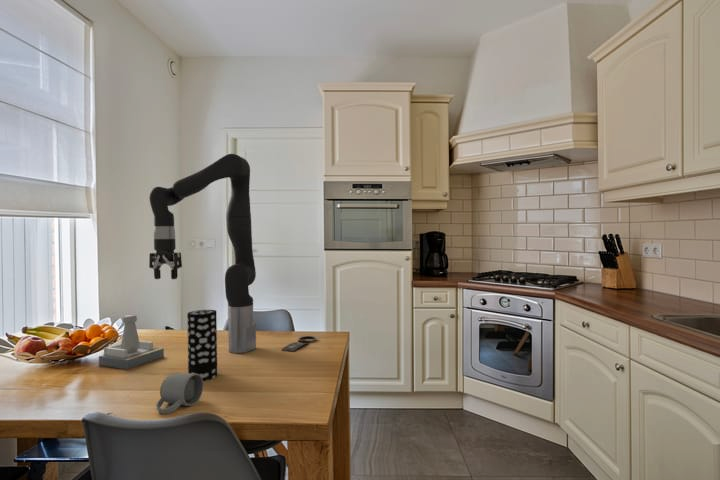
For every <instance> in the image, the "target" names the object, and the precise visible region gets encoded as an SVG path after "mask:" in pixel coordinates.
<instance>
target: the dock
mask: <svg viewBox="0 0 720 480" xmlns="http://www.w3.org/2000/svg"><path fill="white" fill-rule="evenodd" d="M139 342H140V346H139V348H138V350H137V351H136V352H134V353H128V354H127V350H125V349H121V343H122V342H120V343H117V344H114V345H110V346H106V347H103V351H104V352H103V354H102V355H99V356H98V365H99V366H104V367H110V368H117V369H123V370H129V369H134V368H135V367H138V366H141V365H145V364H147V363H151V362H152V361H156V360H158V359H162V358H164V357H165V352H164V350H165V349H164V347H154V341H147V340H139Z"/></svg>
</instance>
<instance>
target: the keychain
mask: <svg viewBox="0 0 720 480" xmlns="http://www.w3.org/2000/svg"><path fill="white" fill-rule="evenodd" d="M316 341H317V337H316V336H313V335H312V336H311V335H305V336H301V337H298V339H297V341H296V342H291V343H289V344H287V345H285V346H284V347H283V348H282V349H281V351H287V352H293V353H294V352H296V351H297V349H298V348H301V347H303V346H309V344H312V343H316Z"/></svg>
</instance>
